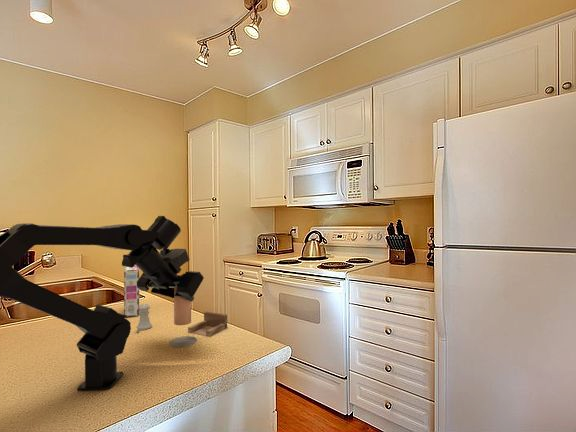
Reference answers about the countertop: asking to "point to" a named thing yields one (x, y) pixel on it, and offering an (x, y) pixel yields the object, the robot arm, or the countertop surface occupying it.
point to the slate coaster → (182, 341)
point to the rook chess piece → (144, 318)
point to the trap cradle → (209, 324)
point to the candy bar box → (131, 291)
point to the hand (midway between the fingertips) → (186, 299)
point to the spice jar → (181, 310)
